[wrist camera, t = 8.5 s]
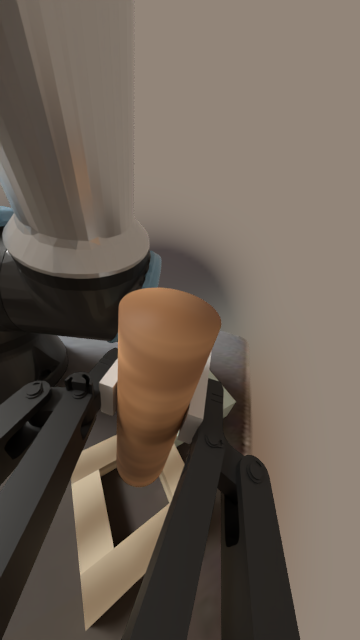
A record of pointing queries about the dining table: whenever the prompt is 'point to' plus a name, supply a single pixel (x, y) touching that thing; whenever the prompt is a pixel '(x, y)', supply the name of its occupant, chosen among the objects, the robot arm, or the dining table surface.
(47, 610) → the dining table surface
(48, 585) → the dining table surface
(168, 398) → the peg
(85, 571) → the holder
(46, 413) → the robot arm
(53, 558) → the dining table surface
